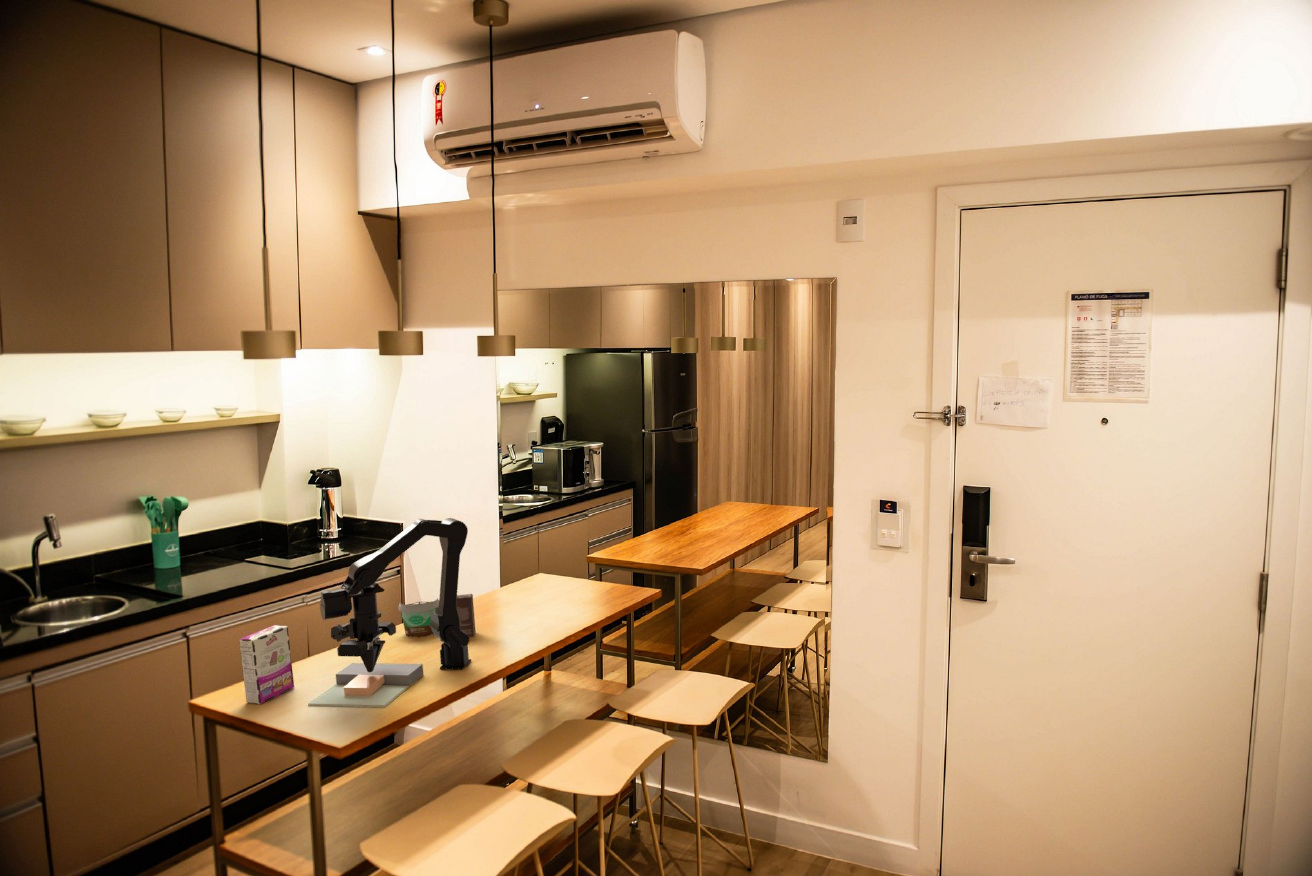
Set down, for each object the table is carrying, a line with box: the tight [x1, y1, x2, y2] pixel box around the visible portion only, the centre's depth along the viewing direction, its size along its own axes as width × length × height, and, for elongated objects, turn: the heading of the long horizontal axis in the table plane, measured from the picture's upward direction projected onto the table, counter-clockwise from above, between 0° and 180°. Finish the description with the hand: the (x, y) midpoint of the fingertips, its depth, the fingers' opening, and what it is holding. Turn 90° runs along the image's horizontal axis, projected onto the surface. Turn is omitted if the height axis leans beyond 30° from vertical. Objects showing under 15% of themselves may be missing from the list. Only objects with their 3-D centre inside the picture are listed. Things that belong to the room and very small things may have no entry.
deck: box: [335, 662, 424, 688], centre depth 215 cm, size 20×8×3 cm, turn 80°
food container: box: [397, 597, 439, 638], centre depth 251 cm, size 12×6×10 cm, turn 105°
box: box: [456, 593, 476, 637], centre depth 248 cm, size 6×4×12 cm
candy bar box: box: [238, 624, 295, 705], centre depth 208 cm, size 11×5×16 cm, turn 158°
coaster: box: [344, 675, 385, 696], centre depth 207 cm, size 7×7×2 cm
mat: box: [307, 683, 409, 708], centre depth 205 cm, size 20×12×1 cm, turn 80°
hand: (370, 671), depth 211 cm, fingers closed
